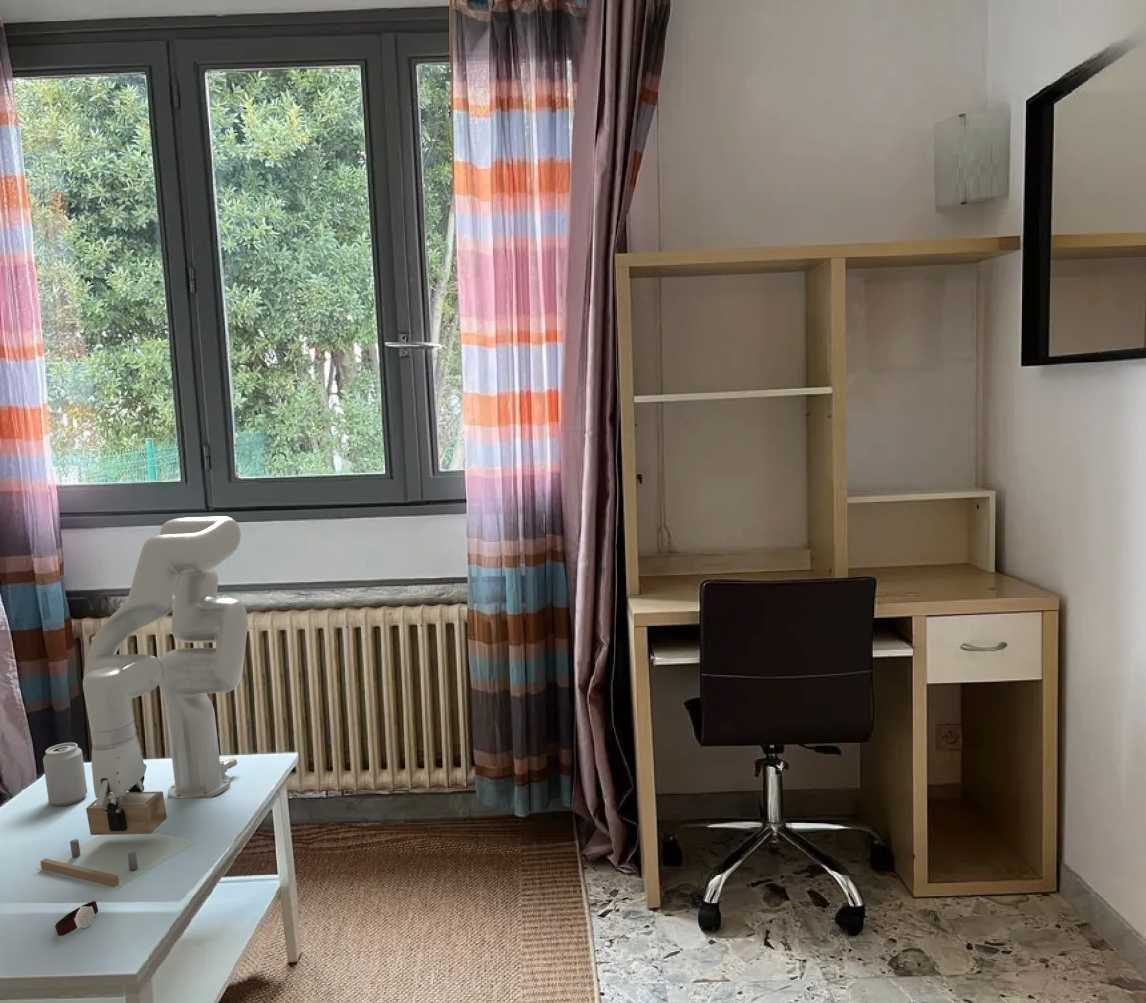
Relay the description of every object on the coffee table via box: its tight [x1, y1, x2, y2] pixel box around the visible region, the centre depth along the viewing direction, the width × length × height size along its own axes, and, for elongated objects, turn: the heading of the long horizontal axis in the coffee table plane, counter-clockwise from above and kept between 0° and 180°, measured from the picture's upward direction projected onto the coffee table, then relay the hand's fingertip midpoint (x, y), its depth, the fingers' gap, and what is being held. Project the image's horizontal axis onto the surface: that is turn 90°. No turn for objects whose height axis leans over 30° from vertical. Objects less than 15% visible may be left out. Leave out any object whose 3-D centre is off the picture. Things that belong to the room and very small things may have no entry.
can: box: [42, 742, 88, 807], centre depth 207 cm, size 8×8×12 cm
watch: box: [54, 900, 99, 937], centre depth 157 cm, size 8×5×4 cm, turn 165°
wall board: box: [36, 831, 198, 890], centre depth 178 cm, size 18×21×4 cm
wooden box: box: [85, 791, 168, 836], centre depth 183 cm, size 6×12×6 cm, turn 85°
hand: (128, 820), depth 183 cm, fingers closed on wooden box, 6 cm apart
